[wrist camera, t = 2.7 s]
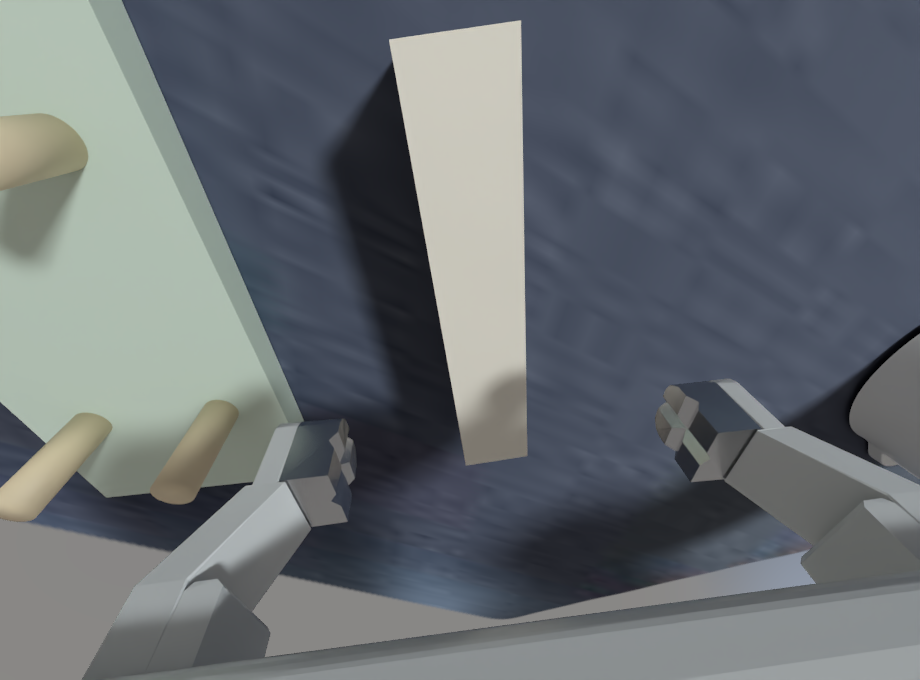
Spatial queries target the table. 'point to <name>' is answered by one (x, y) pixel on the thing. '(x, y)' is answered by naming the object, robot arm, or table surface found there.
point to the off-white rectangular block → (473, 219)
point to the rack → (117, 277)
